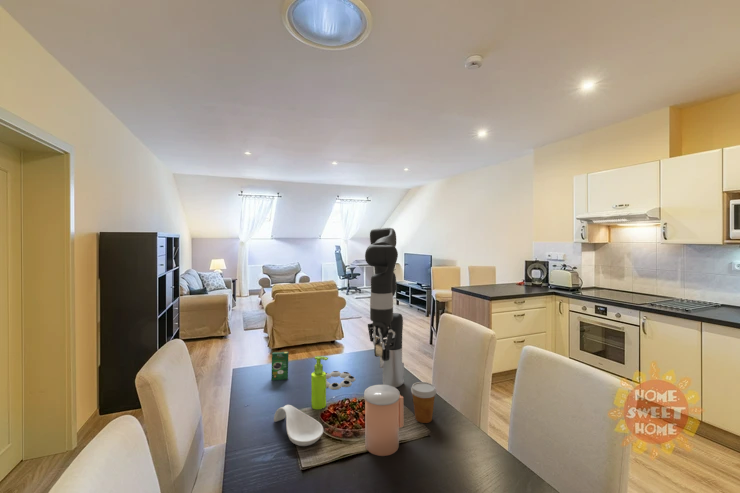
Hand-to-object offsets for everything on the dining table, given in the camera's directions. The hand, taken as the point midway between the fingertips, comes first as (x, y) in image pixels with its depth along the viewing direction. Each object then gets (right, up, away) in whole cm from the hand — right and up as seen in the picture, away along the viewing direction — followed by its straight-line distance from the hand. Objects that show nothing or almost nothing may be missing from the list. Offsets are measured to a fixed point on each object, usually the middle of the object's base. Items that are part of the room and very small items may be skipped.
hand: (381, 357), depth 103 cm
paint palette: (-21, -29, +49) cm, 60 cm away
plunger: (0, -3, 0) cm, 3 cm away
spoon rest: (-30, -29, +7) cm, 42 cm away
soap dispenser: (-24, -29, +25) cm, 45 cm away
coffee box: (-48, -28, +50) cm, 75 cm away
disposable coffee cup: (+16, -29, +16) cm, 36 cm away
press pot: (+1, -29, +1) cm, 29 cm away
